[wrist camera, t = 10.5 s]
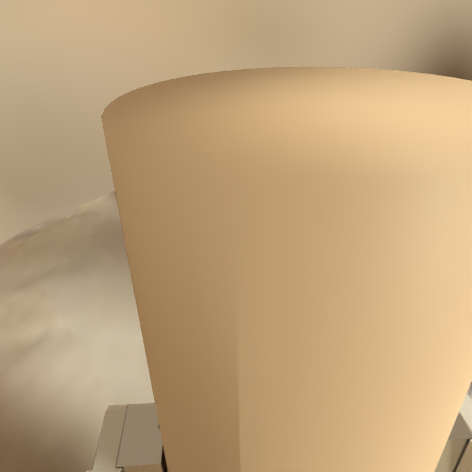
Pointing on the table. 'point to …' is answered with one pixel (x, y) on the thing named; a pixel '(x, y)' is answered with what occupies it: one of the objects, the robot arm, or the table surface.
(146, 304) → the tan rounded cylinder
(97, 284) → the table surface
